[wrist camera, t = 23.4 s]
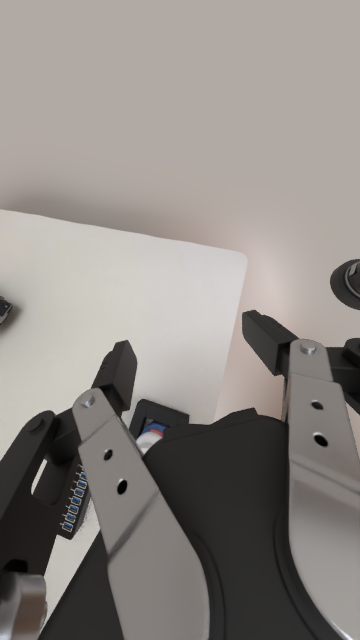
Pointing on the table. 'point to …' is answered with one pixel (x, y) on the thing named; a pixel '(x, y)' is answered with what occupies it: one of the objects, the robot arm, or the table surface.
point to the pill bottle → (151, 435)
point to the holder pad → (155, 416)
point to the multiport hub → (75, 505)
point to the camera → (4, 309)
